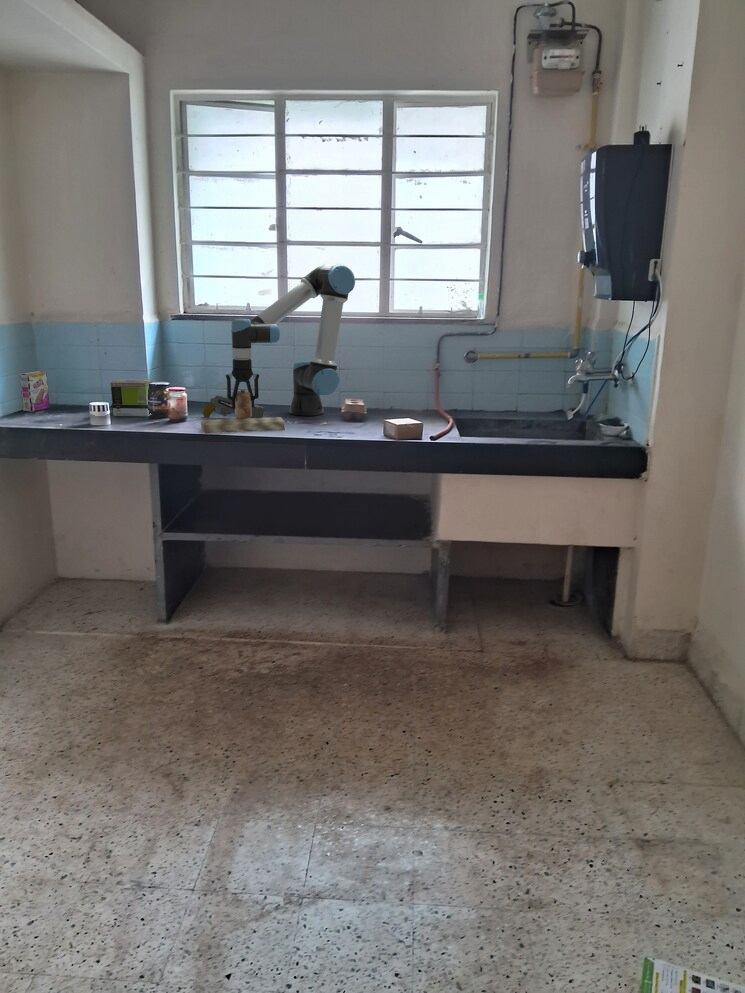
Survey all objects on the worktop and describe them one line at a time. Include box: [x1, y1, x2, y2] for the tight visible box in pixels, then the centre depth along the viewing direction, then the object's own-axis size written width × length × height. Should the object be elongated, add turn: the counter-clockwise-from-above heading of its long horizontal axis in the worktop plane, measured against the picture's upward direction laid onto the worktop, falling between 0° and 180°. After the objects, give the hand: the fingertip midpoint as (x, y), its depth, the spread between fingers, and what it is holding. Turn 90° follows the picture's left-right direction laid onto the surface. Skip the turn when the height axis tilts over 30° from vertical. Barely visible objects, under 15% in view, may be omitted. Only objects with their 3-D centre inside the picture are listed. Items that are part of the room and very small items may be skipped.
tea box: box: [110, 379, 153, 418], centre depth 314 cm, size 15×10×15 cm, turn 89°
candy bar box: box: [19, 370, 50, 413], centre depth 318 cm, size 11×5×16 cm, turn 162°
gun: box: [202, 394, 266, 418], centre depth 312 cm, size 3×25×15 cm, turn 81°
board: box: [200, 416, 286, 435], centre depth 292 cm, size 32×9×4 cm, turn 108°
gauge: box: [235, 389, 251, 419], centre depth 294 cm, size 5×12×12 cm, turn 18°
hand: (243, 415), depth 299 cm, fingers closed on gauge, 5 cm apart
